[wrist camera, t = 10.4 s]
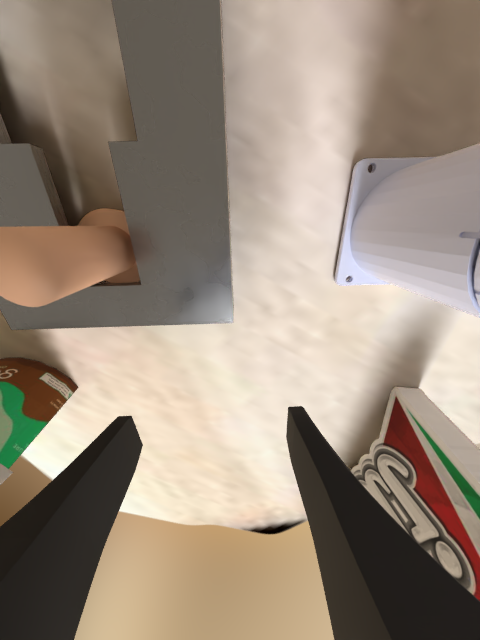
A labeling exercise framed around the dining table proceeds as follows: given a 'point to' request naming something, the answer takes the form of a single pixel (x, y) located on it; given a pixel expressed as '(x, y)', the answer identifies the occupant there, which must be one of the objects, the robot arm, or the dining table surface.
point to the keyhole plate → (149, 179)
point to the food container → (27, 405)
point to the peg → (65, 258)
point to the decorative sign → (428, 482)
